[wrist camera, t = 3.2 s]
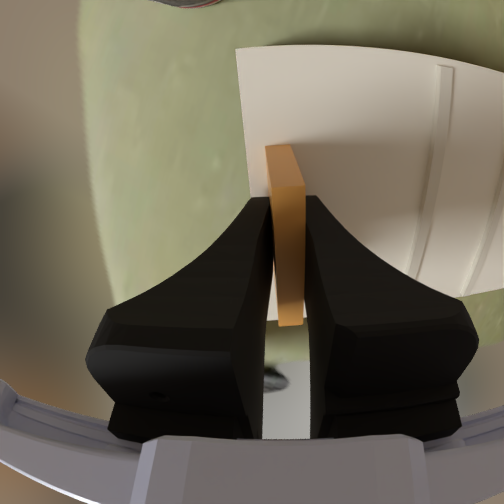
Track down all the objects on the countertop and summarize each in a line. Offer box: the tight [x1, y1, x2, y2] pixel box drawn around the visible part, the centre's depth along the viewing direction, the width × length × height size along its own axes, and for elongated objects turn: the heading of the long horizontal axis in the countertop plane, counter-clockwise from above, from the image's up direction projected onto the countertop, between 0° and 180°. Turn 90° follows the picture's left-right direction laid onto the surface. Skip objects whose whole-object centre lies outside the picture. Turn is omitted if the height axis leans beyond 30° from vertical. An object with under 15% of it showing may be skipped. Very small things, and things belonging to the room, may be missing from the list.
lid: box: [235, 45, 504, 327], centre depth 10 cm, size 14×11×4 cm
